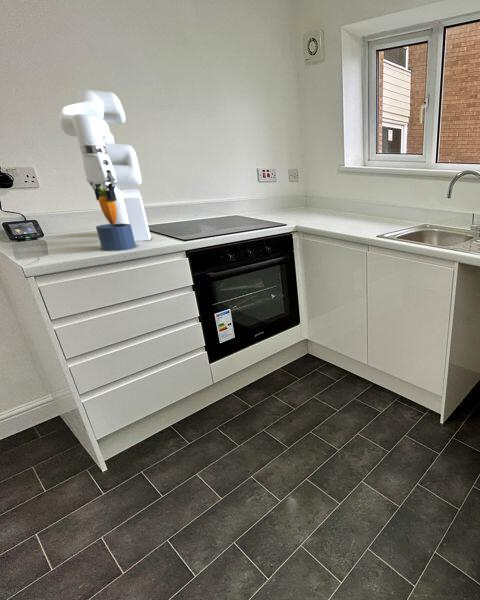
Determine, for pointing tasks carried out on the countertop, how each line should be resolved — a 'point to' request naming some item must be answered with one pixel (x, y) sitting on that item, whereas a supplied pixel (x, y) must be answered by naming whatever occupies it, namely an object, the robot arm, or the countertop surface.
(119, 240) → the blue faceted cup
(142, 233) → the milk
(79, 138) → the robot arm
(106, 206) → the carrot
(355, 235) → the countertop surface
